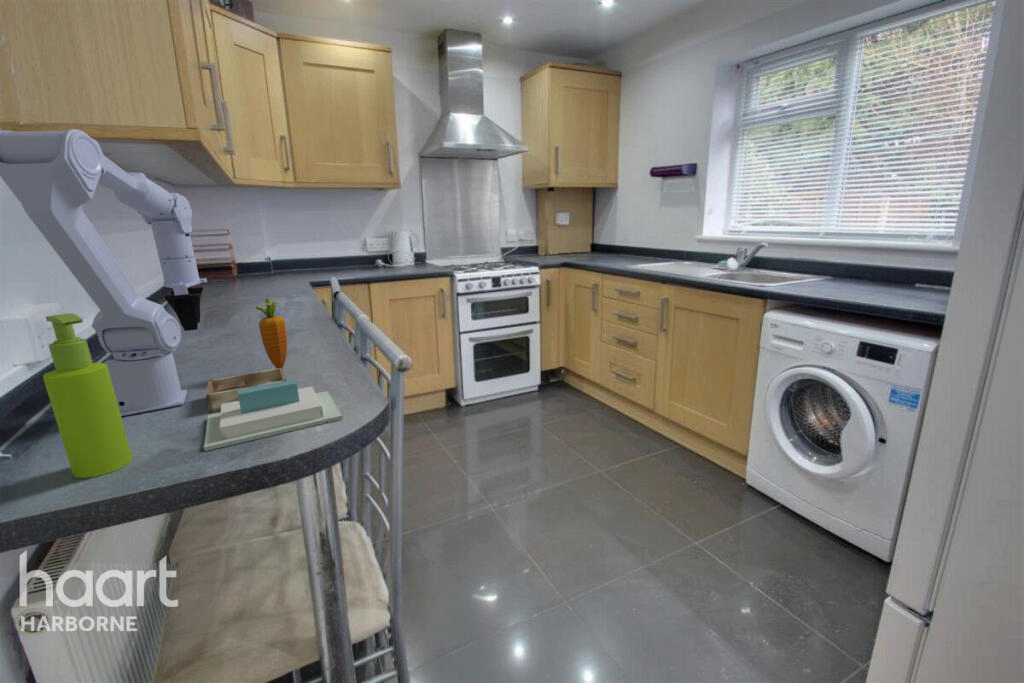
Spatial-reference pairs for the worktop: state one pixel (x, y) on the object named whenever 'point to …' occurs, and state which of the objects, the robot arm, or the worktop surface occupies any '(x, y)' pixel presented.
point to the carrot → (273, 334)
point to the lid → (268, 408)
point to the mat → (216, 441)
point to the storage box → (238, 386)
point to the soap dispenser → (84, 404)
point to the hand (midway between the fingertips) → (192, 326)
